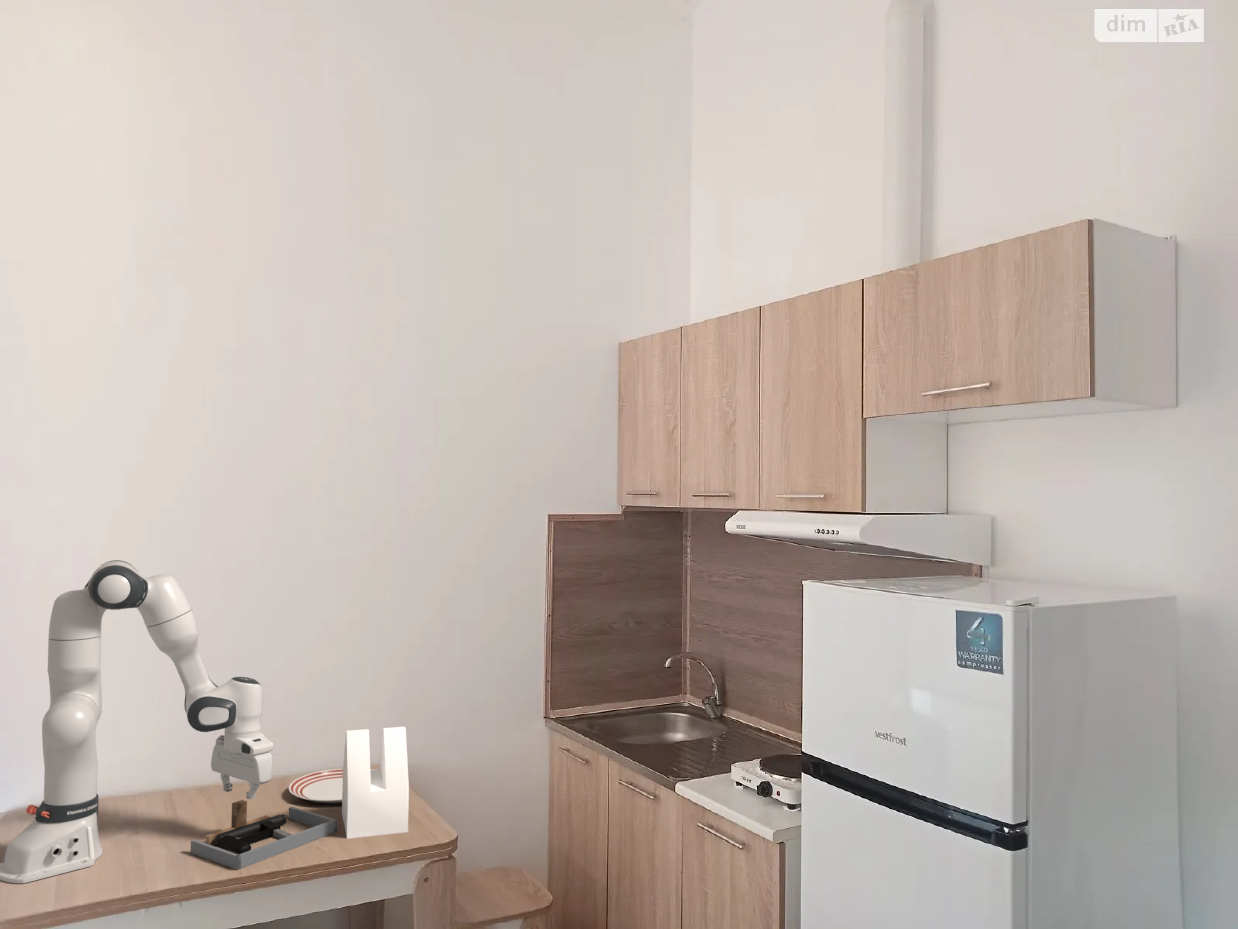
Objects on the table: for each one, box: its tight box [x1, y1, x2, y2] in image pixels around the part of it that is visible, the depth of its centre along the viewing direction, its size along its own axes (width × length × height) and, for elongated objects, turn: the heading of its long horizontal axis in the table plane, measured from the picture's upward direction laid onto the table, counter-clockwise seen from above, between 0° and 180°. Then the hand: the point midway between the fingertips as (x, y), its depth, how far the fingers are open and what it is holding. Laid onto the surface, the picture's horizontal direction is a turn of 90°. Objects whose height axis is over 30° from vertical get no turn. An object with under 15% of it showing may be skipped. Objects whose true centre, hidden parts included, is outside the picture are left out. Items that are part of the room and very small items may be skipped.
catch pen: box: [190, 806, 339, 870], centre depth 239 cm, size 30×18×3 cm, turn 148°
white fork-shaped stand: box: [341, 726, 410, 840], centre depth 255 cm, size 19×15×25 cm
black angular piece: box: [214, 813, 293, 855], centre depth 241 cm, size 3×20×16 cm
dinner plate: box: [288, 768, 343, 804], centre depth 278 cm, size 27×27×3 cm
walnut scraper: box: [205, 799, 271, 846], centre depth 244 cm, size 18×2×8 cm, turn 148°
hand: (238, 794), depth 245 cm, fingers open, 8 cm apart
